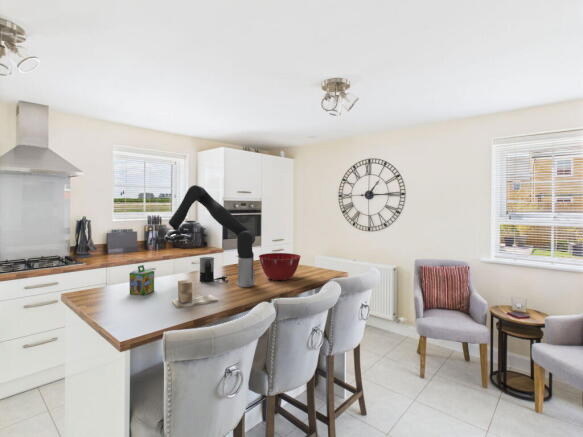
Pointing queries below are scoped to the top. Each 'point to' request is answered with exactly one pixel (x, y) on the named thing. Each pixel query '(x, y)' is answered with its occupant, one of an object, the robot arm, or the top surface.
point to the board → (196, 301)
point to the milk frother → (208, 270)
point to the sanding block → (185, 291)
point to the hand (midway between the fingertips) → (182, 239)
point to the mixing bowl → (279, 265)
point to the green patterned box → (141, 281)
